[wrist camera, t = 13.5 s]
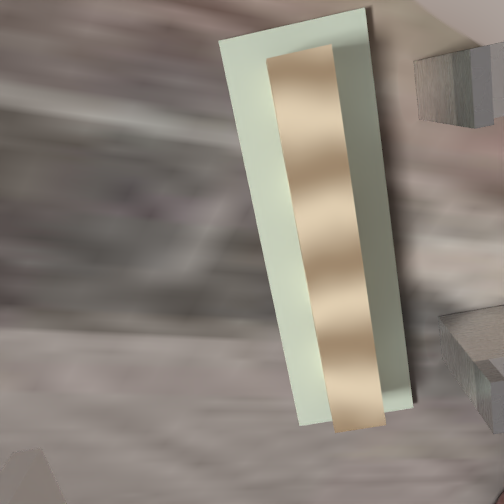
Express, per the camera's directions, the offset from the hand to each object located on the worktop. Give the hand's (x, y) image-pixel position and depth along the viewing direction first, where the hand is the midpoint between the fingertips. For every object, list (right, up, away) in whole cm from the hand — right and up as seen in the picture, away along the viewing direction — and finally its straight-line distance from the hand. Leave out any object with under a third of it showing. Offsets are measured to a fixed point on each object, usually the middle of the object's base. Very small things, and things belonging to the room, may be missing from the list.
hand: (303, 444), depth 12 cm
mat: (+5, +5, +26) cm, 27 cm away
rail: (+4, +5, +25) cm, 26 cm away
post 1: (+14, +17, +22) cm, 31 cm away
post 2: (+18, -2, +28) cm, 33 cm away
